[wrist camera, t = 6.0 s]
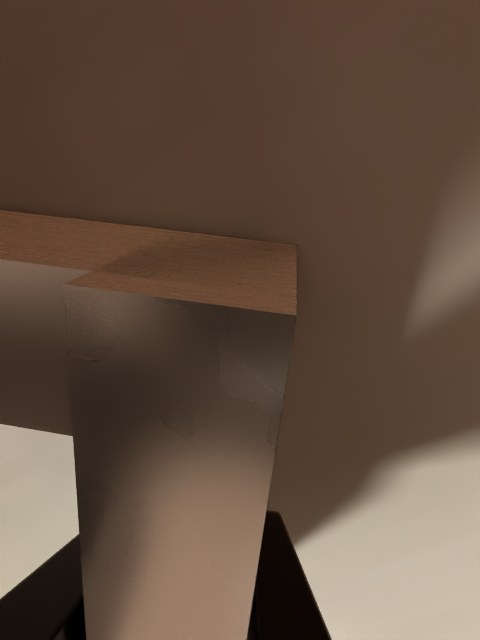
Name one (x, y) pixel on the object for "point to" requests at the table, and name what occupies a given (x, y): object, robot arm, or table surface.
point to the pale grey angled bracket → (153, 407)
